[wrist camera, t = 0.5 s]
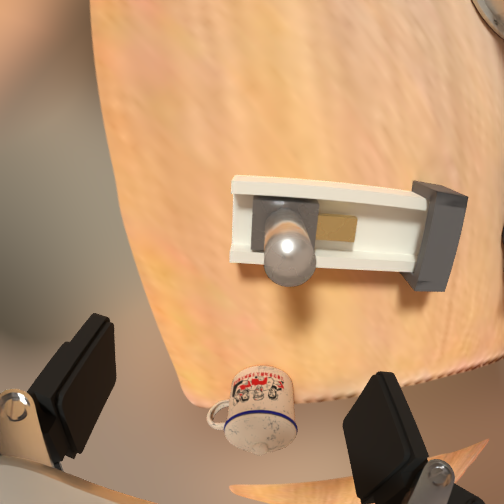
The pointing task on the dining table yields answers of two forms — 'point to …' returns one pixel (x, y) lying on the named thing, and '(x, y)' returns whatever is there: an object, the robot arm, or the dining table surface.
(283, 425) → the teacup with lid
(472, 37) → the dining table surface
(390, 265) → the track
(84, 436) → the robot arm
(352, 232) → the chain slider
